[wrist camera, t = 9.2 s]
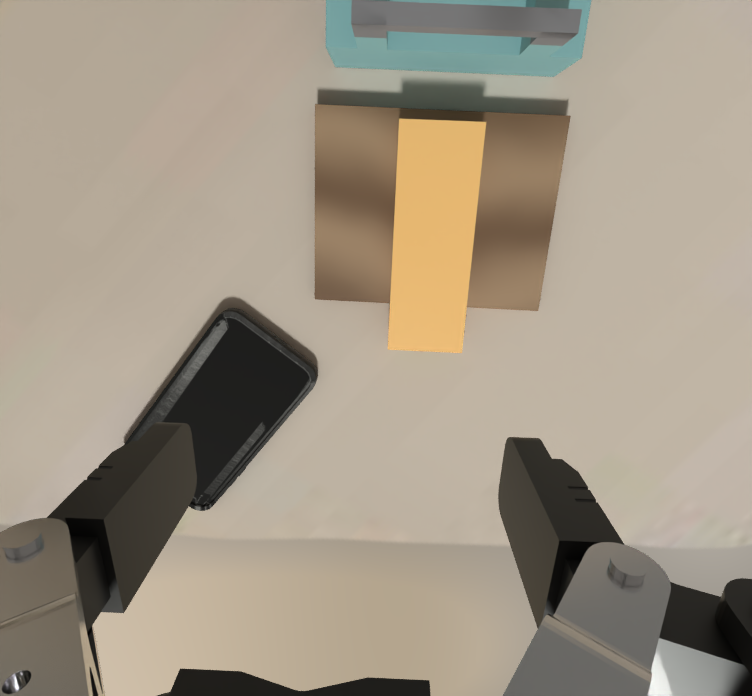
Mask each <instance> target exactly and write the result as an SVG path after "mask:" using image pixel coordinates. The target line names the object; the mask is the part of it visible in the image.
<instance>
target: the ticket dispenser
mask: <svg viewBox="0 0 752 696" xmlns="http://www.w3.org/2000/svg"><path fill="white" fill-rule="evenodd" d="M590 5H591V0H326V48H327V51H328V53H329V55H330V57H331V59H332V61H333V63H334V65H335V67H346V68H369V69H391V70H414V71H437V72H459V73H482V74H505V75H527V76H550V77H554V76H555V75H557V74H558V73H560V72H561V71H563V70H564V69H566V68H567V67H569V66H570V65H572V64H573V63H575V62H576V61H578V60H579V59H581V58H582V53H583V47H584V41H585V35H586V29H587V23H588V17H589V11H590Z"/></svg>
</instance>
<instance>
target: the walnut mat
mask: <svg viewBox="0 0 752 696" xmlns="http://www.w3.org/2000/svg"><path fill="white" fill-rule="evenodd" d="M399 119H422V120H449V121H475V122H486V129H485V139H484V148H483V158H482V167H481V177H480V186H479V195H478V205H477V214H476V224H475V233H474V243H473V252H472V262H471V271H470V280H469V290H468V299H467V307H473V308H492V309H511V310H530V311H538V308H539V302H540V296H541V290H542V284H543V278H544V272H545V266H546V260H547V254H548V248H549V242H550V236H551V230H552V224H553V218H554V212H555V206H556V200H557V194H558V188H559V182H560V176H561V170H562V164H563V158H564V152H565V146H566V140H567V134H568V128H569V122H570V116H562V115H540V114H518V113H496V112H474V111H452V110H430V109H408V108H386V107H364V106H342V105H320V104H315V299H320V300H340V301H359V302H378V303H390V292H391V272H392V252H393V231H394V211H395V191H396V171H397V150H398V130H399Z"/></svg>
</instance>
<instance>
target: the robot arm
mask: <svg viewBox="0 0 752 696" xmlns="http://www.w3.org/2000/svg"><path fill="white" fill-rule="evenodd" d="M196 484H197V473H196V465H195V457H194V449H193V441H192V433H191V428H190V426H189V425H188V424H186V423H165V422H156V423H154V424H153V425H152V426H151V427H150V428H149V429H148V430H147V431H146V432H145V434H144V435H143V436H142V437H141V438H140V439H139V440H138V441H131V442H129V443H128V444H126V445H124V446H122V447H121V448H119V449H117V450H115V451H114V452H112V453H111V454H110V455H109V456H108V457H107V458H106V459H105V460H104V461H103V462H102V463H101V464H100V465H99V468H98V469H95V470H94V471H93V472H92V473H91V474H90V475H89V476H88V477H87V480H84V481H83V482H82V483H81V484H80V485H79V486H78V487H77V488H76V489H75V490H74V491H73V492H72V493H71V494H70V495H69V496H68V497H67V498H66V499H65V500H64V501H63V502H62V503H61V504H60V505H59V506H58V507H57V508H56V509H55V510H54V511H53V512H52V513H51V514H50V515H49V516H48V517H47V518H39V519H34V520H29V521H26V522H22V523H19V524H17V525H14V526H12V527H10V528H8V529H6V530H4V531H2V532H0V696H105V691H104V685H103V680H102V674H101V668H100V662H99V656H98V651H97V644H96V638H95V633H94V629H93V623H94V621H95V620H96V619H97V617H98V615H99V614H100V612H114V613H124V612H125V610H126V609H127V607H128V605H129V604H130V602H131V600H132V598H133V597H134V595H135V594H136V592H137V590H138V588H139V587H140V585H141V584H142V582H143V581H144V579H145V577H146V576H147V574H148V572H149V570H150V569H151V567H152V566H153V564H154V562H155V560H156V559H157V557H158V556H159V554H160V552H161V551H162V549H163V548H164V546H165V544H166V543H167V541H168V539H169V538H170V536H171V534H172V533H173V531H174V529H175V528H176V526H177V524H178V523H179V521H180V519H181V518H182V516H183V515H184V513H185V511H186V510H187V508H188V506H189V505H190V503H191V501H192V499H193V497H194V494H195V490H196ZM498 499H499V510H500V514H501V518H502V521H503V524H504V527H505V530H506V533H507V536H508V539H509V542H510V545H511V548H512V551H513V554H514V557H515V560H516V563H517V566H518V569H519V573H520V576H521V579H522V582H523V585H524V588H525V591H526V594H527V597H528V600H529V603H530V606H531V609H532V612H533V615H534V618H535V621H536V624H537V628H538V630H537V632H536V634H535V636H534V638H533V639H532V641H531V643H530V645H529V647H528V649H527V651H526V653H525V655H524V657H523V658H522V660H521V662H520V664H519V666H518V668H517V670H516V672H515V674H514V675H513V678H512V679H511V681H510V683H509V685H508V687H507V689H506V691H505V692H504V694H503V696H752V579H735V580H732V581H730V582H729V583H727V585H726V586H725V589H724V591H723V593H722V596H721V597H719V596H715V595H712V594H708V593H705V592H701V591H698V590H694V589H691V588H686V587H684V586H680V585H677V584H674V583H672V582H670V580H669V578H668V576H667V574H666V573H665V571H664V570H663V569H662V568H661V567H660V566H659V565H658V564H657V563H656V562H655V561H654V560H653V559H651V558H650V557H649V556H647V555H646V554H644V553H642V552H640V551H639V550H637V549H635V548H632V547H629V546H627V545H624V543H623V542H622V540H621V538H620V537H619V535H618V534H617V532H616V531H615V529H614V527H613V526H612V524H611V523H610V521H609V520H608V518H607V516H606V515H605V513H604V512H603V510H602V509H601V507H600V505H599V504H598V503H596V499H595V498H594V496H593V494H592V493H591V491H590V490H588V487H587V485H586V483H585V482H584V480H583V479H582V477H581V476H580V474H579V472H577V471H576V470H575V469H574V468H572V467H571V466H570V465H568V464H567V463H566V462H565V461H563V460H562V459H552V458H551V457H550V455H549V453H548V451H547V450H546V448H545V446H544V444H543V443H542V441H541V440H540V439H539V438H519V437H509V438H508V439H507V441H506V444H505V450H504V457H503V464H502V471H501V477H500V484H499V494H498ZM158 696H430V684H429V681H428V680H407V679H386V678H364V679H359V680H355V681H350V682H346V683H341V684H337V685H332V686H327V687H323V688H318V689H314V690H309V691H297V690H293V689H290V688H287V687H284V686H282V685H279V684H276V683H272V682H270V681H267V680H264V679H261V678H258V677H255V676H252V675H250V674H246V673H243V672H239V671H219V670H197V669H180V671H179V673H178V675H177V677H176V680H175V682H174V685H173V687H172V689H171V692H169V693H164V694H161V695H158Z"/></svg>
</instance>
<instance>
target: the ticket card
mask: <svg viewBox="0 0 752 696" xmlns="http://www.w3.org/2000/svg"><path fill="white" fill-rule="evenodd" d="M485 129H486V122H475V121H449V120H422V119H399V130H398V150H397V171H396V191H395V211H394V231H393V252H392V272H391V292H390V313H389V333H388V350H410V351H431V352H452V353H462V347H463V337H464V328H465V318H466V309H467V299H468V290H469V280H470V271H471V262H472V252H473V243H474V233H475V224H476V214H477V205H478V195H479V186H480V177H481V167H482V158H483V148H484V139H485Z"/></svg>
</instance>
